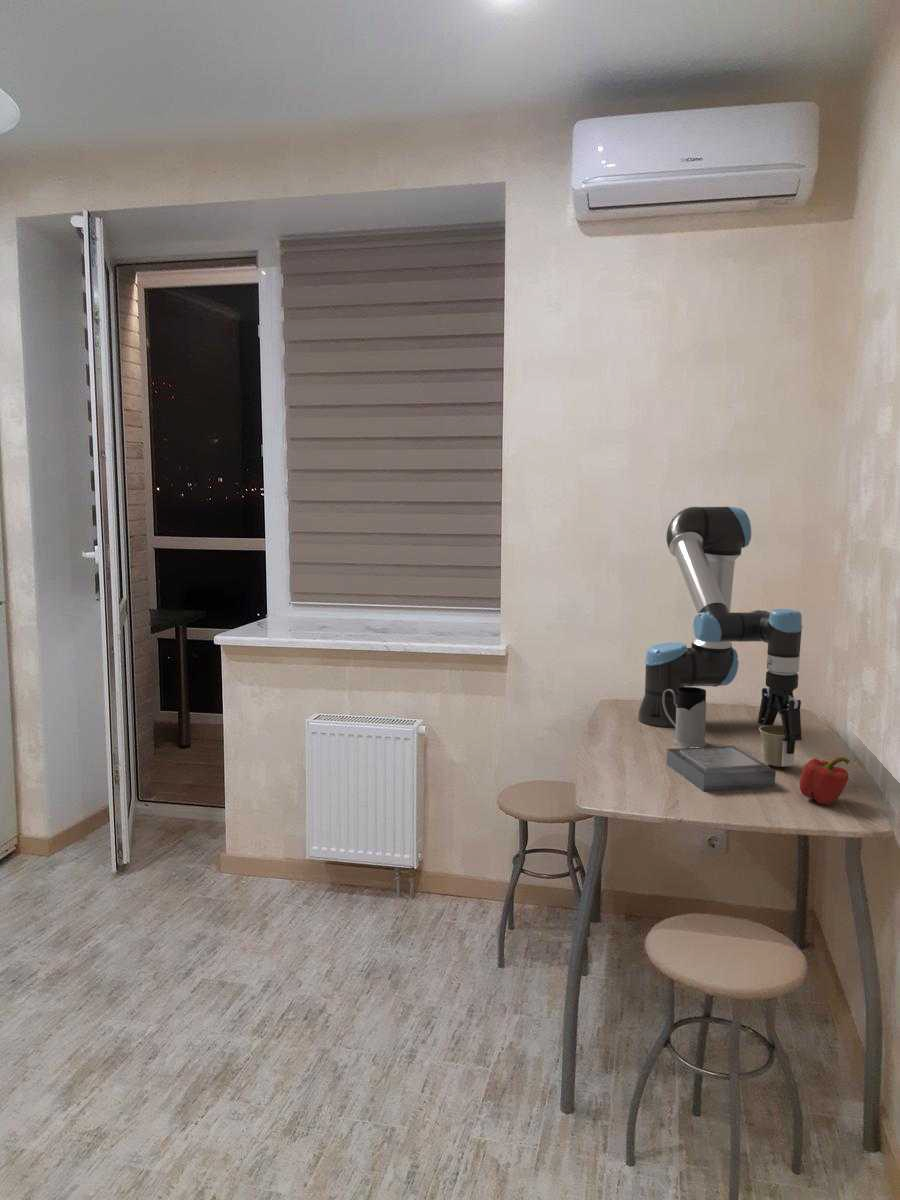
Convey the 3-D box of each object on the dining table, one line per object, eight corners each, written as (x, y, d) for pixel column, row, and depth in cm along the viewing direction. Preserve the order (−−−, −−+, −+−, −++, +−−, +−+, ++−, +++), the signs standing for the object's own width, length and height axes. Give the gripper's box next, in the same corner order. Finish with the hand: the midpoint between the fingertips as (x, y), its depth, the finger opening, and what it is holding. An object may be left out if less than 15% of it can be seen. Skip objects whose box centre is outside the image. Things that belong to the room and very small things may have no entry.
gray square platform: (666, 764, 217) (667, 747, 217) (732, 760, 220) (733, 743, 220) (703, 791, 198) (704, 772, 197) (774, 786, 201) (775, 768, 200)
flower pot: (772, 770, 211) (774, 736, 209) (749, 758, 220) (751, 726, 218) (805, 767, 213) (807, 733, 212) (781, 756, 222) (783, 723, 221)
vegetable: (836, 792, 197) (839, 750, 196) (859, 809, 187) (862, 764, 186) (789, 792, 197) (792, 750, 196) (810, 809, 187) (812, 764, 186)
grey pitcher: (692, 749, 230) (694, 695, 228) (651, 737, 241) (653, 685, 239) (712, 744, 235) (715, 690, 233) (671, 732, 246) (673, 681, 244)
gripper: (746, 663, 223) (741, 747, 226) (792, 682, 202) (787, 774, 205) (772, 662, 224) (768, 746, 227) (821, 680, 203) (815, 772, 206)
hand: (777, 759), depth 216 cm, fingers closed on flower pot, 8 cm apart
